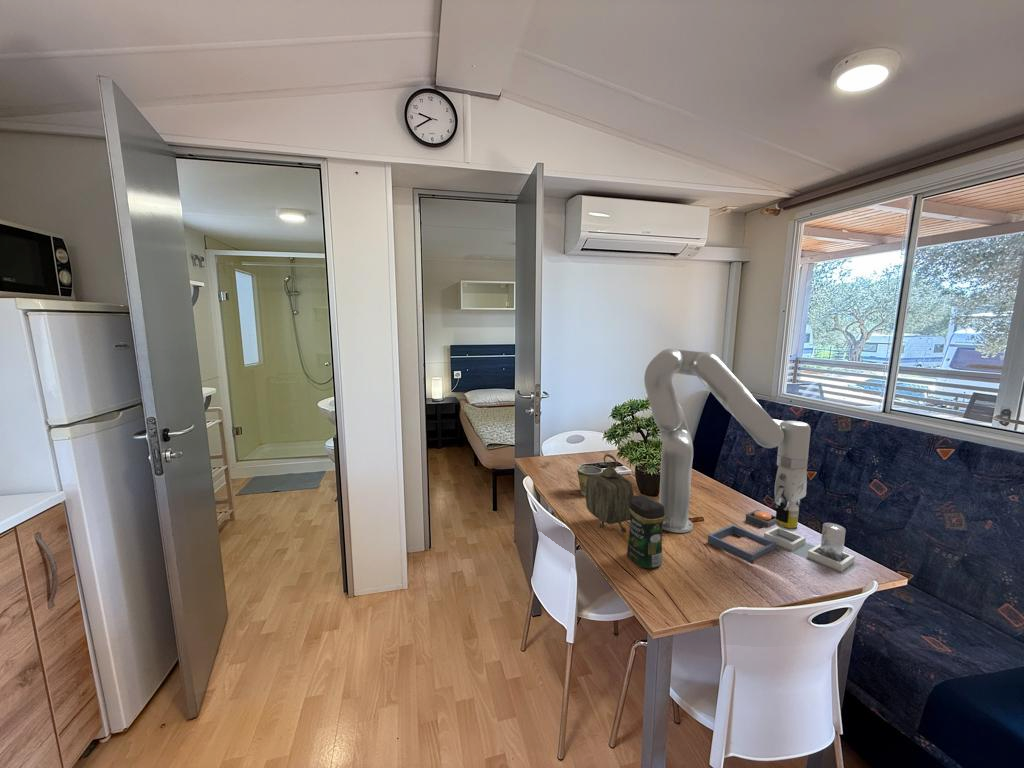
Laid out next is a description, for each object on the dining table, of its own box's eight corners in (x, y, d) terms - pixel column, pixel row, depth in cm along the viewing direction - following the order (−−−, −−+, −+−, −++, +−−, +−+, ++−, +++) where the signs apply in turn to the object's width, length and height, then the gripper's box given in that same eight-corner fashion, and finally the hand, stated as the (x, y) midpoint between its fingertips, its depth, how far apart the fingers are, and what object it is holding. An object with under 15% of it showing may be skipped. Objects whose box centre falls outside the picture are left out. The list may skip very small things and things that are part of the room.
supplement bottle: (771, 523, 125) (774, 493, 124) (787, 522, 126) (790, 493, 125) (784, 532, 120) (787, 501, 119) (801, 531, 120) (804, 500, 119)
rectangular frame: (751, 563, 113) (752, 555, 113) (707, 542, 124) (708, 534, 124) (775, 550, 120) (776, 543, 119) (732, 531, 131) (732, 524, 131)
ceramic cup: (588, 500, 156) (589, 475, 154) (571, 491, 164) (572, 468, 163) (611, 493, 162) (612, 469, 161) (594, 485, 171) (595, 462, 169)
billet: (837, 567, 110) (841, 533, 109) (816, 558, 114) (819, 525, 113) (844, 561, 112) (848, 528, 111) (823, 553, 117) (827, 521, 115)
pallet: (843, 577, 107) (845, 567, 106) (758, 541, 125) (759, 532, 125) (859, 566, 112) (860, 556, 111) (774, 533, 130) (775, 524, 130)
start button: (766, 523, 134) (766, 518, 134) (751, 517, 138) (751, 513, 138) (774, 519, 137) (774, 515, 136) (758, 514, 141) (759, 509, 141)
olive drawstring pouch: (631, 534, 129) (635, 460, 126) (608, 540, 125) (611, 463, 122) (604, 515, 142) (607, 448, 139) (583, 520, 139) (585, 450, 135)
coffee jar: (622, 554, 117) (624, 494, 115) (644, 549, 120) (647, 490, 118) (643, 572, 108) (646, 507, 106) (666, 567, 111) (670, 503, 109)
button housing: (767, 530, 133) (768, 523, 132) (745, 521, 139) (745, 514, 139) (779, 524, 136) (779, 517, 136) (756, 516, 143) (757, 509, 142)
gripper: (791, 470, 113) (786, 530, 115) (819, 460, 121) (813, 516, 124) (763, 463, 119) (759, 520, 121) (792, 454, 128) (787, 507, 130)
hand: (786, 518), depth 122 cm, fingers closed on supplement bottle, 5 cm apart
